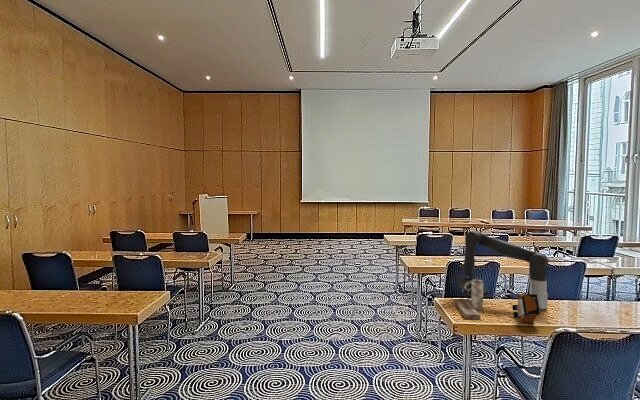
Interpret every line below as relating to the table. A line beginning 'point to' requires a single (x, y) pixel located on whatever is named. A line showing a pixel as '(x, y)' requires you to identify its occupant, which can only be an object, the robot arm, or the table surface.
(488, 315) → the table surface
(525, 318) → the toy
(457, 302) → the walnut board
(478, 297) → the pale block with peg
